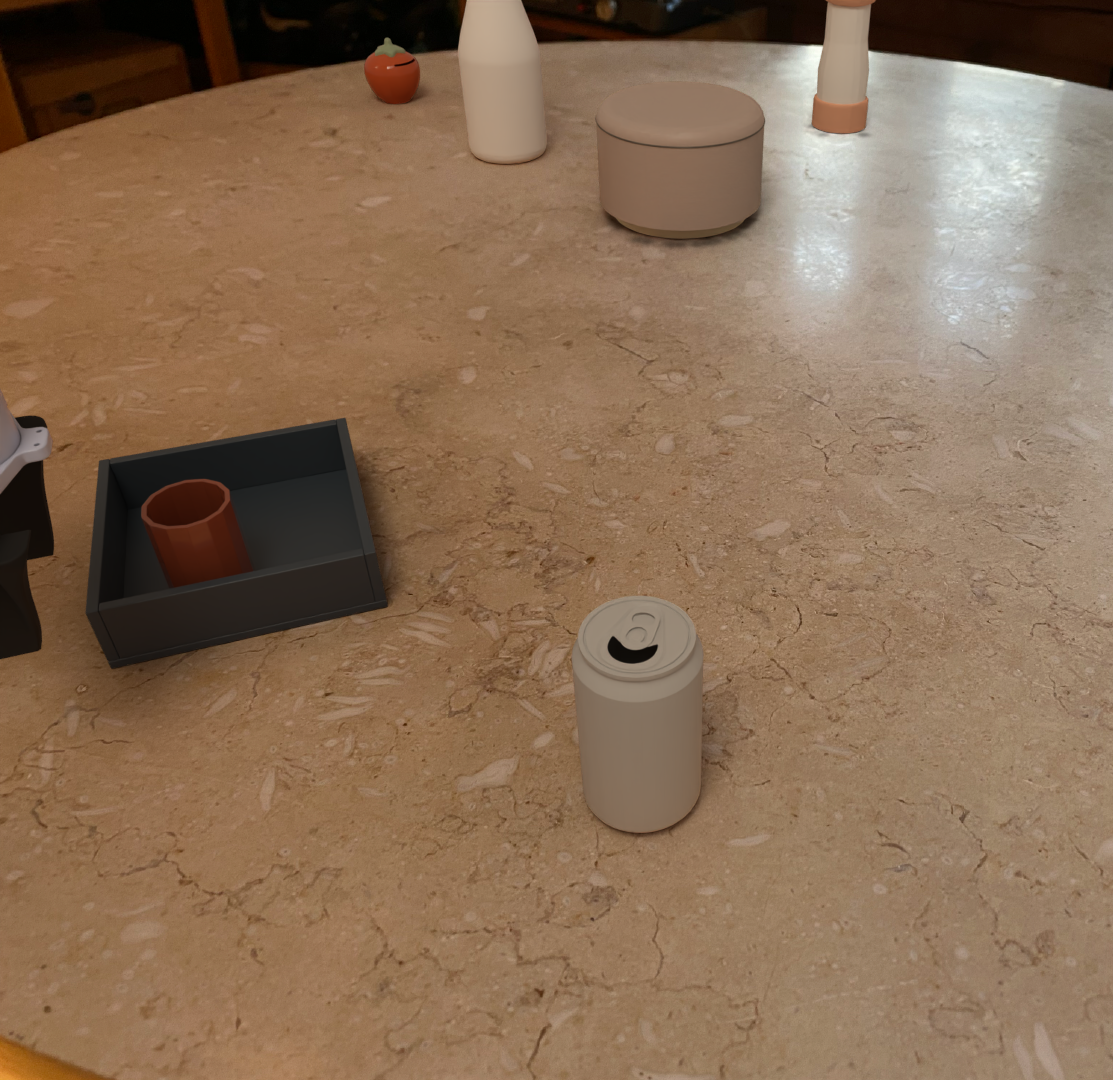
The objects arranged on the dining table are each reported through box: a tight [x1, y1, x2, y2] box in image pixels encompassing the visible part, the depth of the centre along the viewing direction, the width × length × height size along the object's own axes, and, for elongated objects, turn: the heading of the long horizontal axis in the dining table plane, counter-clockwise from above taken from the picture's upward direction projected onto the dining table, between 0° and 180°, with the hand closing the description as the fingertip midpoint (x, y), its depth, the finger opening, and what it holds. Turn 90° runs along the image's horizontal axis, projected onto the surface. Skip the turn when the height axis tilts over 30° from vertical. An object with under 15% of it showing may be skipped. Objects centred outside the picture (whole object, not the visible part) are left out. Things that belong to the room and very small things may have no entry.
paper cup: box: [141, 479, 255, 589], centre depth 68 cm, size 5×5×7 cm
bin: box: [84, 417, 389, 669], centre depth 73 cm, size 16×16×5 cm
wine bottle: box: [457, 0, 548, 165], centre depth 126 cm, size 10×10×30 cm
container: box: [594, 80, 766, 240], centre depth 118 cm, size 18×18×12 cm
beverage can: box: [571, 595, 705, 834], centre depth 56 cm, size 6×6×12 cm
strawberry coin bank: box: [363, 37, 421, 105], centre depth 148 cm, size 7×7×8 cm
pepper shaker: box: [811, 0, 876, 134], centre depth 140 cm, size 7×7×19 cm
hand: (26, 601), depth 56 cm, fingers open, 7 cm apart
